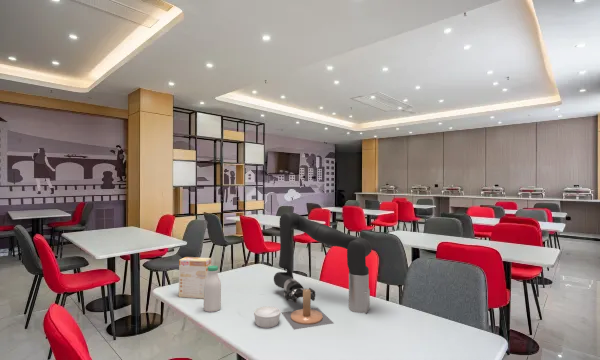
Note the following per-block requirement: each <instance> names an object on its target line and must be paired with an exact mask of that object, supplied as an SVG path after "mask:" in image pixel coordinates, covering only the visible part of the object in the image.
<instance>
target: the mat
mask: <svg viewBox="0 0 600 360" xmlns="http://www.w3.org/2000/svg"><path fill="white" fill-rule="evenodd" d="M311 309H312V310H316V311H319V312H320V313H322V315H323V319H322V321H320V322H319V323H316V324H310V325H304V324H298V323H296V322H294V321H292V320H291V313H292V312H294V311H296V310H290V311H289V310H288V311H282V312H281V311H280V314H282V316H283V317H284V319H286V321H287V323H288V324H289V325H290V326H291V328H292V329H293V331H294V330H299V329H300V330H301V329H305V328H307V329H308V328H312V327H313V328H314V327H320V326H325V325H333V324H334V321H332V320H331V319H330V318H329V316H327V314H325V313H324V312H323V311H322V310H321V309H319V307H312V308H311Z"/></svg>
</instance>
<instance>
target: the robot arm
mask: <svg viewBox="0 0 600 360" xmlns="http://www.w3.org/2000/svg"><path fill="white" fill-rule="evenodd" d="M292 230H295V231H296V230H297V231H300V232H303V233H305V234H307V235H308V236H309V237H310V238H311V239H312V240H314V241H316V242H318V243H320V244H323V245H326V246H331V247H336V248H337V247H339V248H343V249H346V258H347V259H346V262H347V263H346V264H347V268H348V310H349V311H350V312H353V313H358V314H359V313H360V314H361V313H362V314H363V313H365V314H367V313H368V312H369V310H370V308H371V306H370V304H371V303H370V301H371V300H370V296H371V295H370V293H371V292H370V291H371V289H370V287H369V286H370V285H369V284H370V283H369V277H370V275H369V274H370V273H369V269H370V268H369V267H368V266H367V263H366V262H367V261H366V260H367V259H366V258H367V257H368V256H369V255H370V254H371V253H372V250H373V249H372V248H373V247H372V244H371V243H370V241H369V240H368V239H365V238H363V237H360V236H356V235H351V234H349V233H345V232H343V231H341V230H339V229H336V228H334V227H331V226H329V225H326V224H324V223H320V222H317V221H314V220H312V219H311V220H310V219H308V218H306V217H305V216H302V215H301V214H298V213H297V212H296V213H295V212H284V213H282V214H281V215H280V217H279V239H280V240H279V241H280V242H279V243H280V250H279V258H278V266H279V268H281V269H284V270H286V271H284V272H283V271H278V272H276V273H275V274H274V276H273V282H274V285H275V286H276V287H278V288H281V289H284V290H283V297H284V299H285V301H289V300H290V301H292V302H293V303H295V304H297V299H299V298H303V290H304V289H305V288H304V287H303V285H302V284H301V283H300V282H299V281H298V280H296V279H295V278H294V273H293V266H292V265H293V253H294V252H293V246H292V243H291V232H292ZM308 289H310V290H311V301H315V299H316V291H315V290H314V289H313V288H311V287H309V288H308Z"/></svg>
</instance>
